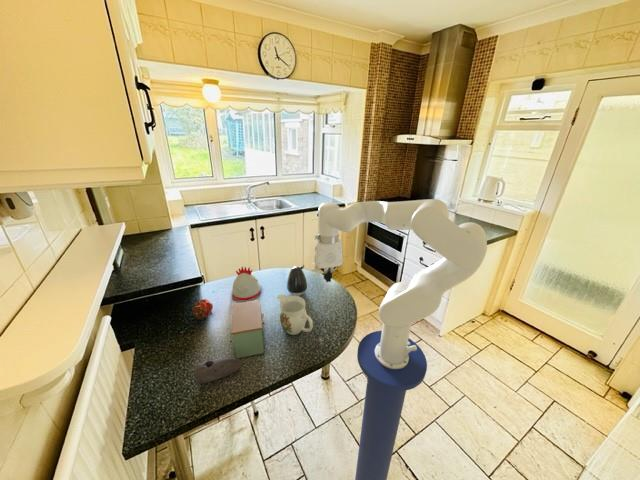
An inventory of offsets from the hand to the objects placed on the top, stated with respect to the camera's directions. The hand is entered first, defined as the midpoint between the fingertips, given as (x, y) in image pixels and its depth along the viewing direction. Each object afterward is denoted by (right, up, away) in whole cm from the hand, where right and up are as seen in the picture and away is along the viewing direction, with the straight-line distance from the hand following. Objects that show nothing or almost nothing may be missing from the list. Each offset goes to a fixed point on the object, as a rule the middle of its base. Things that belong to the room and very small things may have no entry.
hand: (327, 280), depth 100 cm
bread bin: (-31, -24, +2) cm, 39 cm away
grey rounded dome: (-41, -11, +31) cm, 52 cm away
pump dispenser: (-15, -12, +31) cm, 36 cm away
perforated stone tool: (-37, -31, -13) cm, 50 cm away
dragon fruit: (-56, -18, +15) cm, 60 cm away
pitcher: (-13, -22, +7) cm, 27 cm away
